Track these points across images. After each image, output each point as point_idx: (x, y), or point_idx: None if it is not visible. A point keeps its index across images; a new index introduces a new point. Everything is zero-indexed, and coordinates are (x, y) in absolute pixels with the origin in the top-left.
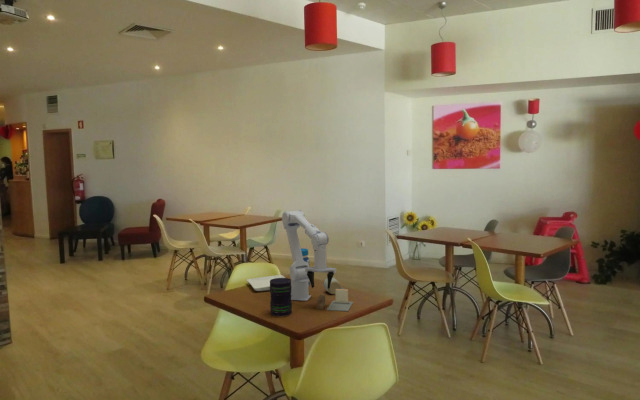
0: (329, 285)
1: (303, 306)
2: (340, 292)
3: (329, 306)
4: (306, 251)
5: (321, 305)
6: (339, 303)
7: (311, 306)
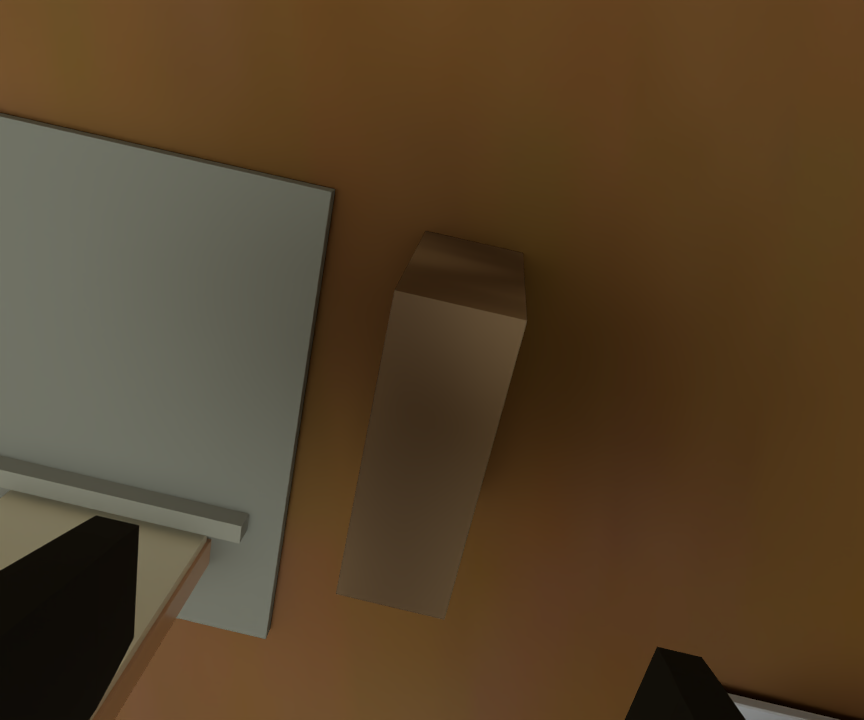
0: (6, 581)
1: (771, 438)
2: None
3: (293, 361)
4: None
5: (425, 253)
6: (142, 491)
7: (621, 427)
